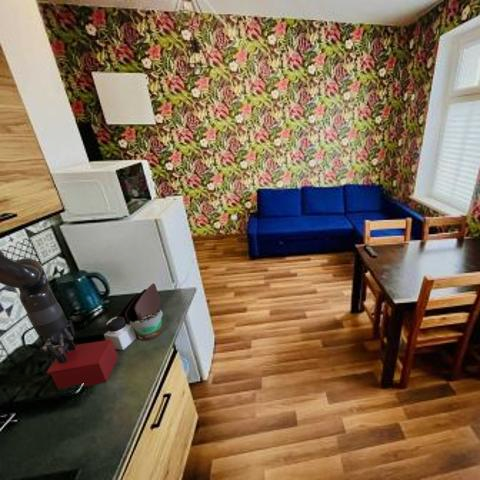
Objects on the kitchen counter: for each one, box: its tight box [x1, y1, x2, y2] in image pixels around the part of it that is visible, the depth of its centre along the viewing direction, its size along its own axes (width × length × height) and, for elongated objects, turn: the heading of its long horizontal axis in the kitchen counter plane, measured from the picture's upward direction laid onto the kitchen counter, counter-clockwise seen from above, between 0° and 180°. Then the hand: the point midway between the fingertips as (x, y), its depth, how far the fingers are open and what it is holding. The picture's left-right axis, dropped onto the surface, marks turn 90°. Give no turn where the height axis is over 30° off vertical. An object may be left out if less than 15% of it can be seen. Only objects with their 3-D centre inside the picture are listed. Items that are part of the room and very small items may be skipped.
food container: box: [130, 307, 164, 341], centre depth 114 cm, size 12×6×10 cm, turn 137°
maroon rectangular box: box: [50, 342, 119, 390], centre depth 97 cm, size 14×12×8 cm
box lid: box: [45, 339, 112, 374], centre depth 94 cm, size 14×12×5 cm
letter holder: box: [116, 282, 162, 331], centre depth 124 cm, size 10×20×14 cm, turn 8°
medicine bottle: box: [103, 316, 138, 351], centre depth 110 cm, size 7×7×12 cm
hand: (68, 355), depth 93 cm, fingers closed on box lid, 5 cm apart
